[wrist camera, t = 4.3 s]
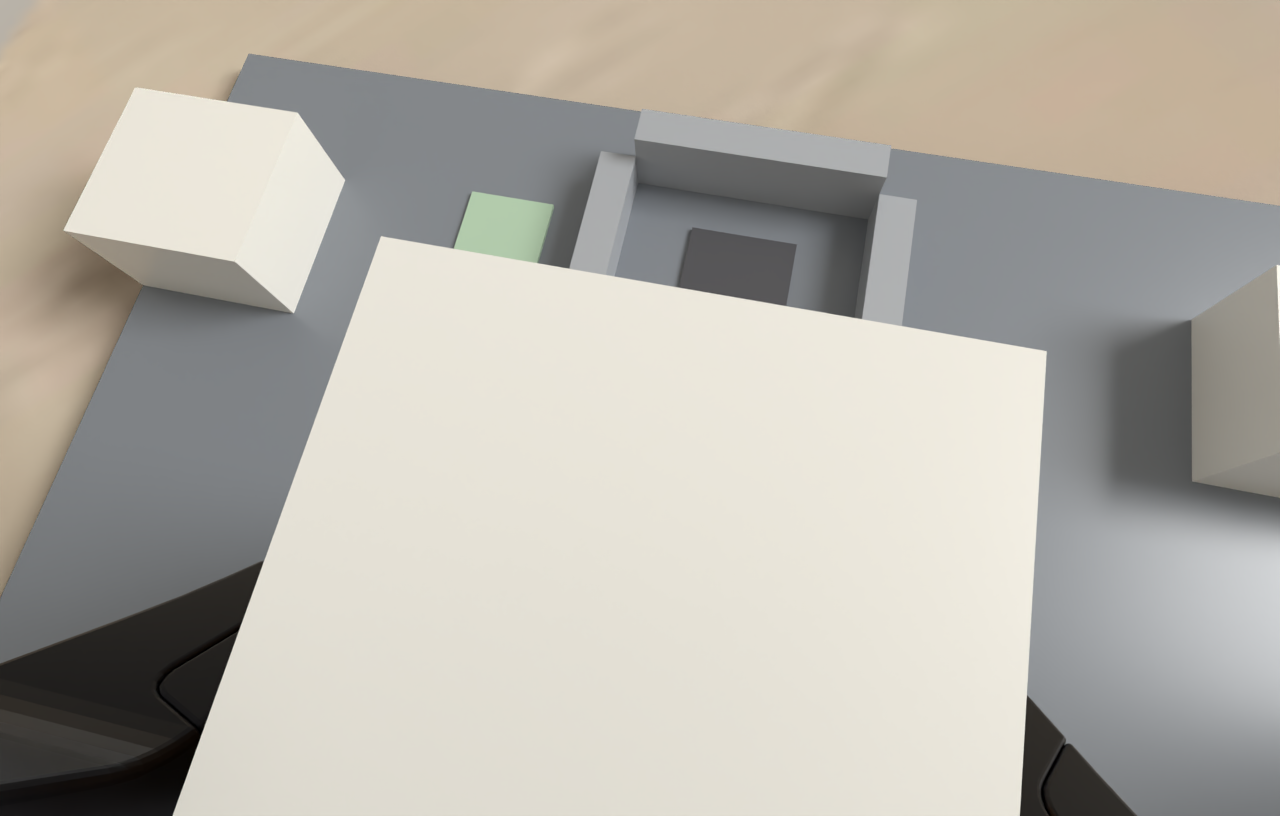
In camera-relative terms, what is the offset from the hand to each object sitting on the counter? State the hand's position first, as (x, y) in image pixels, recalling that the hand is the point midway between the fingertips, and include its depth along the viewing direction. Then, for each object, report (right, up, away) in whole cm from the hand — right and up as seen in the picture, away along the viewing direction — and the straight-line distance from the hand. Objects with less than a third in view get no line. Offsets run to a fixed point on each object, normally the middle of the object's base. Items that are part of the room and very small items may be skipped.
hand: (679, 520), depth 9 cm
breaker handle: (0, -3, +5) cm, 6 cm away
